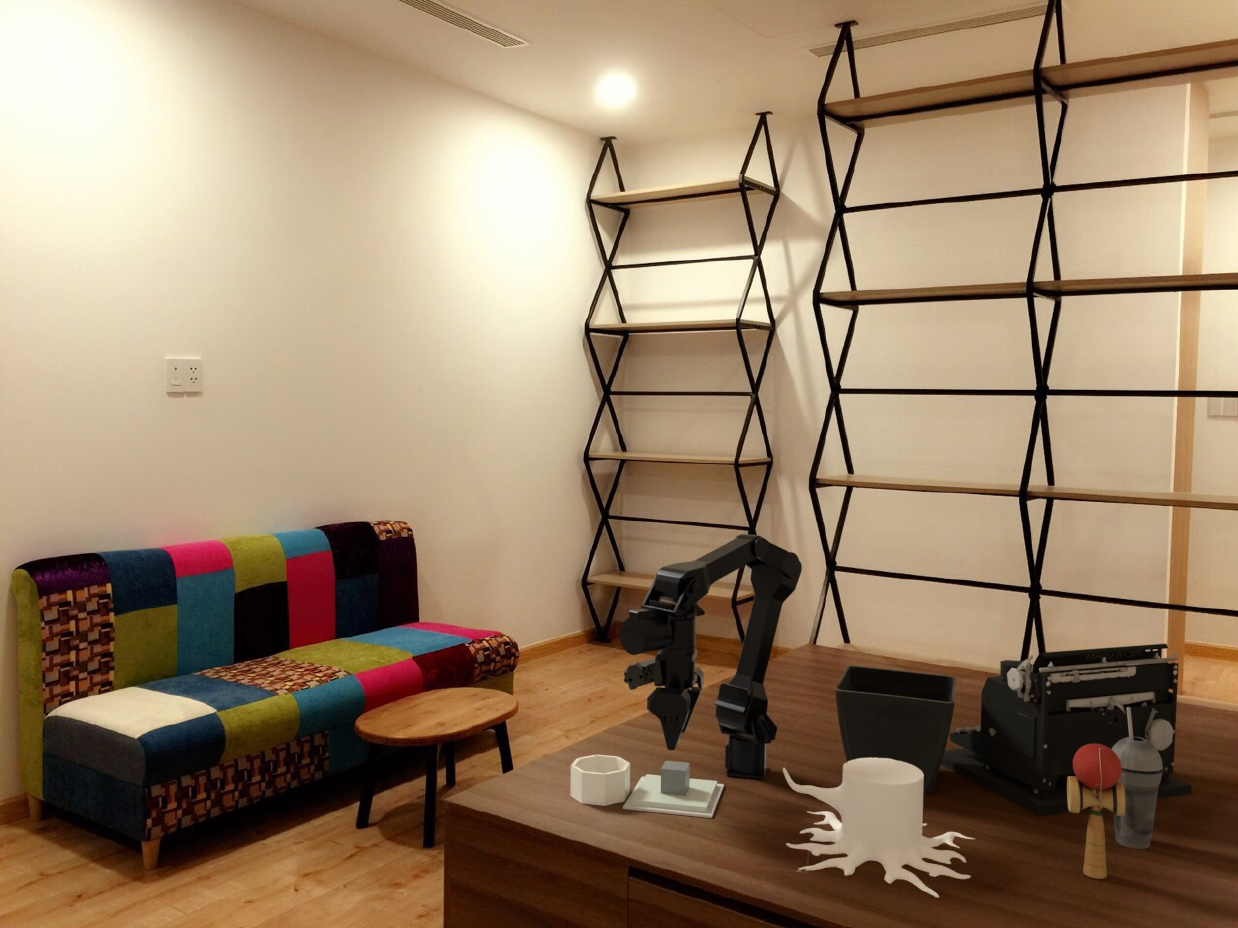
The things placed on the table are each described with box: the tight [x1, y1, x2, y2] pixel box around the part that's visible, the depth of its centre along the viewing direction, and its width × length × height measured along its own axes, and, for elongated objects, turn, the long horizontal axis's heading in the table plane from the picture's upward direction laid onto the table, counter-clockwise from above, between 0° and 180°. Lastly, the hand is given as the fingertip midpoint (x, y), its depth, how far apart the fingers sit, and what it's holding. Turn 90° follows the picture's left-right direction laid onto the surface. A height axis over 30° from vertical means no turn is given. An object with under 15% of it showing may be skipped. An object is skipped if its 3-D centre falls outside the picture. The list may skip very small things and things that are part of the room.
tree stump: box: [782, 757, 975, 898], centre depth 148 cm, size 28×28×11 cm
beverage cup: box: [1112, 707, 1164, 850], centre depth 148 cm, size 7×7×20 cm
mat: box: [622, 776, 725, 819], centre depth 165 cm, size 14×14×1 cm
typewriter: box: [941, 643, 1192, 817], centre depth 176 cm, size 31×27×25 cm
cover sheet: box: [631, 760, 718, 812], centre depth 164 cm, size 12×12×5 cm
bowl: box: [569, 754, 631, 807], centre depth 165 cm, size 9×9×5 cm
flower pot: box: [835, 665, 957, 795], centre depth 175 cm, size 19×19×17 cm
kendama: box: [1067, 744, 1125, 880], centre depth 137 cm, size 8×6×18 cm
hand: (676, 741), depth 164 cm, fingers open, 9 cm apart
